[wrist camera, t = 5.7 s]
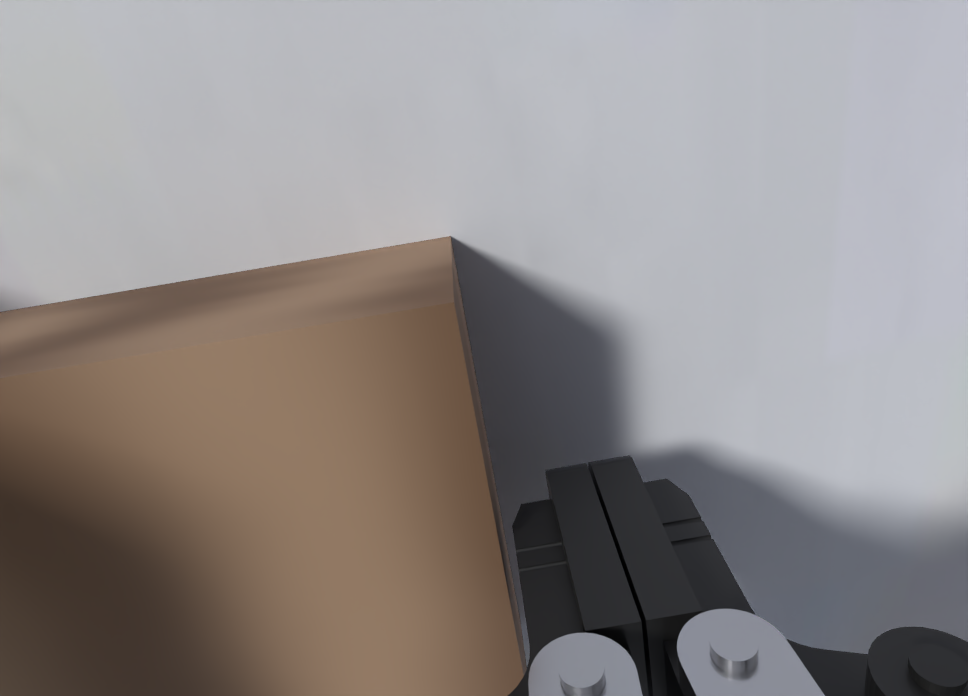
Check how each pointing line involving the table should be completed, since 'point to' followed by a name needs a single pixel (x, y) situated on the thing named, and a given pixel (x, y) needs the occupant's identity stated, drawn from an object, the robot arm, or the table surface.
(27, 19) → the table surface
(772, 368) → the table surface
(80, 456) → the brown block
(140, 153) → the table surface
